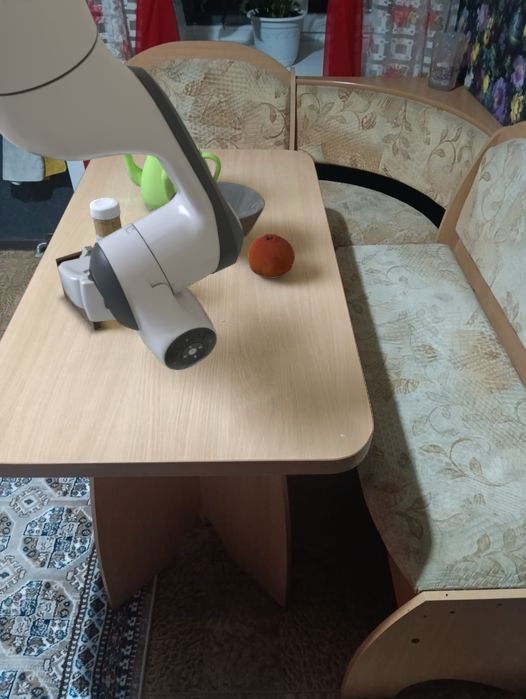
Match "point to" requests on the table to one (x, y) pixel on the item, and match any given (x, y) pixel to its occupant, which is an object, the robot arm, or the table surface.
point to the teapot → (158, 179)
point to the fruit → (271, 256)
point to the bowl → (242, 203)
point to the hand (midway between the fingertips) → (116, 243)
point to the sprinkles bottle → (105, 216)
